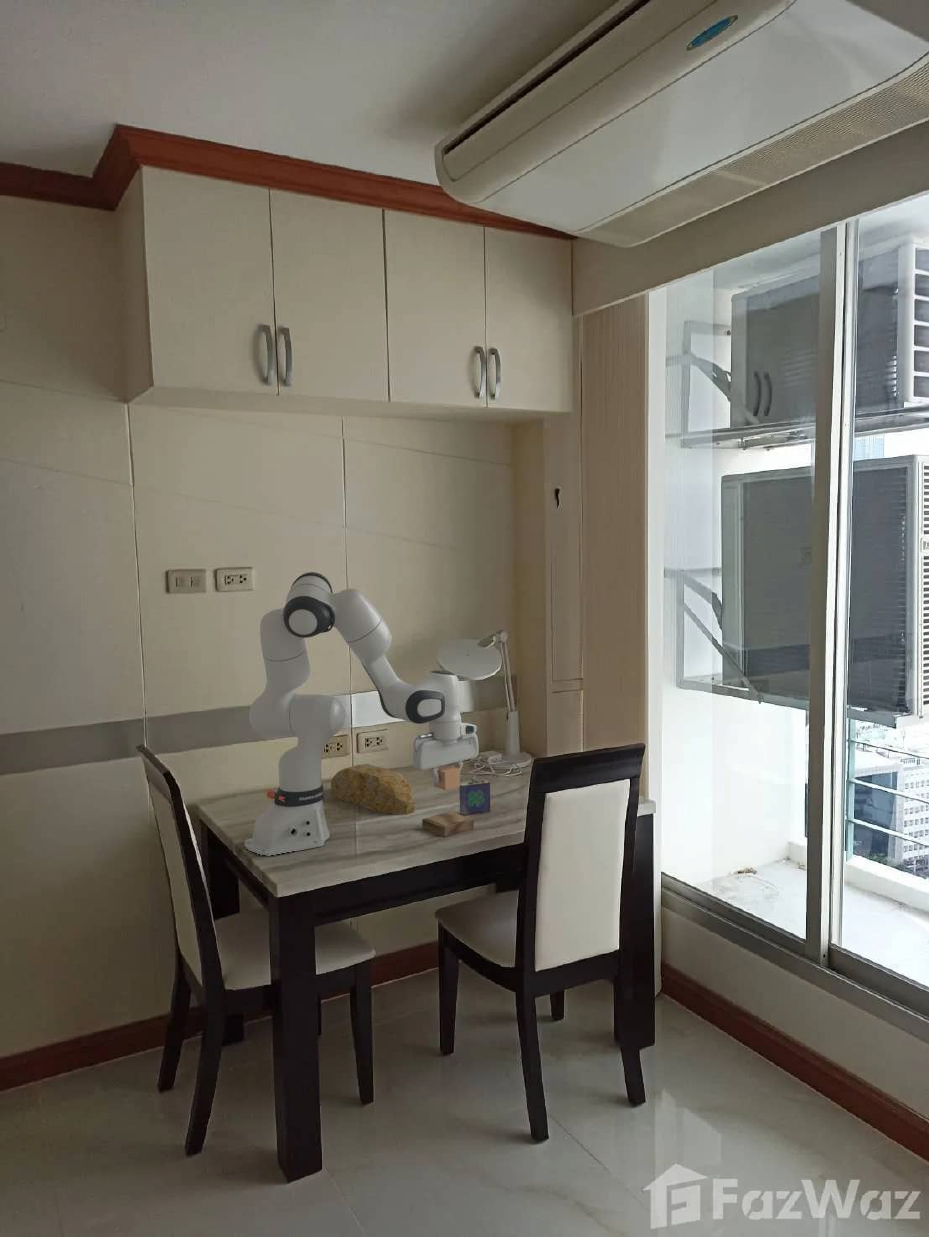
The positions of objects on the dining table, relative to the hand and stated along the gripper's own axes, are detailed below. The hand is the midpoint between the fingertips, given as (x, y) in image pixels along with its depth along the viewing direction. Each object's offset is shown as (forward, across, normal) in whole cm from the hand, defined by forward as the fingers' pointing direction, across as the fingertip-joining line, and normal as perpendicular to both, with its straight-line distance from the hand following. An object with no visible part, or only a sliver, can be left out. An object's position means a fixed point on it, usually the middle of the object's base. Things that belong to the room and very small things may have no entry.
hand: (446, 779), depth 251 cm
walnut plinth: (+14, 0, 0) cm, 14 cm away
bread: (+14, -1, +36) cm, 39 cm away
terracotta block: (+2, 0, 0) cm, 2 cm away
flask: (+14, +14, +5) cm, 21 cm away
